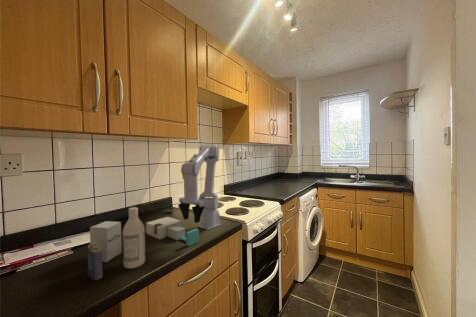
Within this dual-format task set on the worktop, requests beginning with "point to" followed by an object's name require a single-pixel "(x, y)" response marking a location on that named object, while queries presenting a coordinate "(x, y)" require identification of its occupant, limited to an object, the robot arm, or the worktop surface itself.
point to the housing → (161, 229)
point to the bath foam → (133, 241)
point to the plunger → (156, 227)
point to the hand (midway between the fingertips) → (191, 220)
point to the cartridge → (183, 234)
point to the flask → (94, 262)
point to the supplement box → (107, 238)
